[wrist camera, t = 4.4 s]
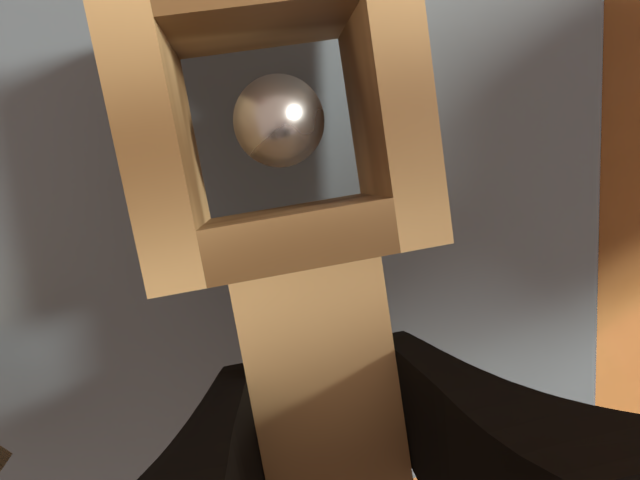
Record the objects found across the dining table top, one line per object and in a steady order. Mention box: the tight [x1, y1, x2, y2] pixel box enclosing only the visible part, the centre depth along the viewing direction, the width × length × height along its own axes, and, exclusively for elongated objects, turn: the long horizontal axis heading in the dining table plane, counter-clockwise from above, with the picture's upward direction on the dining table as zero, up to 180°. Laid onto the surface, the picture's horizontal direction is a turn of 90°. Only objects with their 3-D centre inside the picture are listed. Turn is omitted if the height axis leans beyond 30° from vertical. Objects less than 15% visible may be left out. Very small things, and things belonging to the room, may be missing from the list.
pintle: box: [233, 73, 325, 168], centre depth 12 cm, size 2×2×4 cm
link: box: [83, 0, 454, 480], centre depth 11 cm, size 15×6×3 cm, turn 8°
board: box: [0, 0, 604, 480], centre depth 14 cm, size 22×21×1 cm
